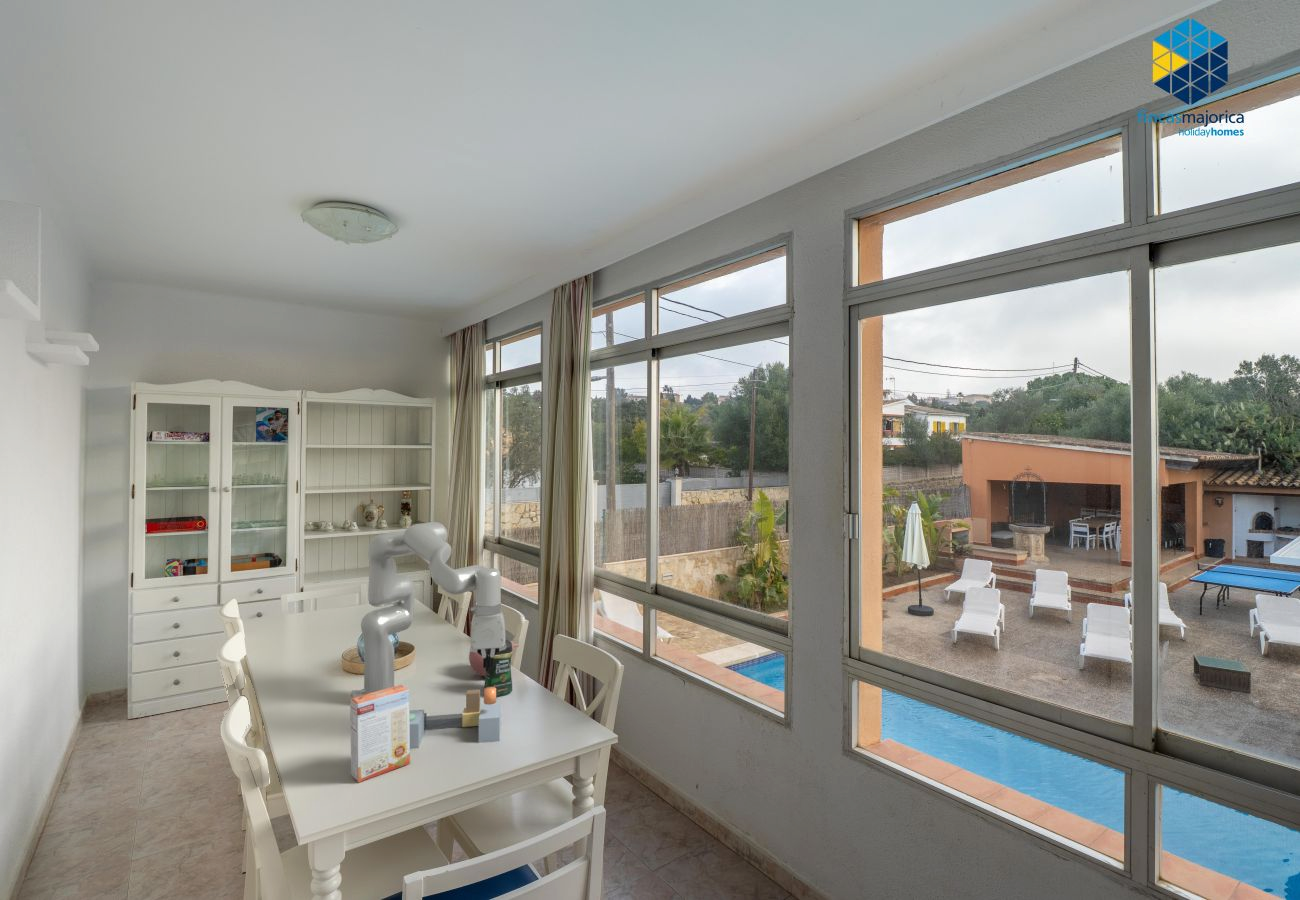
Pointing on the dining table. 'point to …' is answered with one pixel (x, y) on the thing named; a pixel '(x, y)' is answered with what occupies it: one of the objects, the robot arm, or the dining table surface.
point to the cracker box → (379, 732)
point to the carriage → (471, 709)
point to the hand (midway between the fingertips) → (488, 669)
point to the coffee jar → (500, 671)
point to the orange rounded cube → (489, 695)
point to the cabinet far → (490, 723)
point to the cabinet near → (416, 727)
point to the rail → (442, 721)
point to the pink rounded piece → (481, 661)
